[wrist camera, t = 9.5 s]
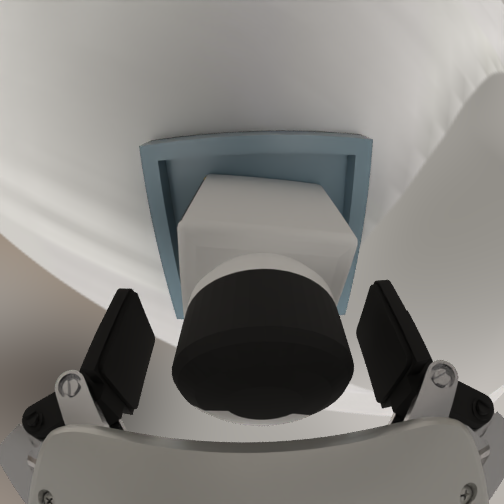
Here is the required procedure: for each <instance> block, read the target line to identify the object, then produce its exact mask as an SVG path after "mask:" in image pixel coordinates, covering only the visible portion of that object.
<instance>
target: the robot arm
mask: <svg viewBox="0 0 504 504" xmlns="http://www.w3.org/2000/svg"><path fill="white" fill-rule="evenodd" d="M356 334H357V339H358V342H359V344H360V348H361V351H362V354H363V357H364V360H365V364H366V367H367V370H368V373H369V377H370V380H371V383H372V387H373V390H374V394H375V397H376V401H377V402H378V403H381V407H382V408H386V407H391V406H392V409H393V412H394V413H393V415H392V417H391V420H390V421H389V423H388V425H386V426H382V427H377V428H373V429H368V430H362V431H357V432H352V433H347V434H341V435H335V436H328V437H321V438H313V439H304V440H292V441H278V442H252V443H251V442H250V443H237V442H209V441H195V440H184V439H175V438H174V439H173V438H166V437H159V436H153V435H146V434H140V433H134V432H129V431H127V430H126V428H125V426H124V424H123V422H122V420H121V417H122V413H125V414H130V415H133V411H134V409H137V407H138V404H139V399H140V396H141V392H142V388H143V383H144V379H145V376H146V372H147V368H148V365H149V361H150V357H151V353H152V350H153V346H154V343H155V336H154V333H153V331H152V329H151V326H150V324H149V321H148V319H147V317H146V314H145V312H144V309H143V307H142V304H141V302H140V299H139V296H138V294H137V293H136V292H134V291H133V290H132V289H118V290H117V292H116V294H115V296H114V298H113V300H112V302H111V304H110V306H109V308H108V310H107V312H106V314H105V316H104V318H103V320H102V322H101V323H100V326H99V328H98V330H97V332H96V334H95V336H94V339H93V341H92V343H91V345H90V347H89V350H88V352H87V354H86V357H85V359H84V361H83V364H82V366H81V369H80V371H75V370H70V371H66V372H64V373H63V374H61V376H60V377H59V378H58V379H57V381H56V384H55V392H54V393H52V394H51V395H49V396H47V397H45V398H43V399H42V400H40V401H38V402H36V403H35V404H33V405H32V406H30V407H28V408H27V409H26V410H25V412H24V414H23V418H22V423H23V424H22V425H20V424H18V426H16V428H15V429H14V430H13V431H12V432H11V433H10V434H9V435H8V437H7V438H6V439H5V440H4V441H3V442H2V444H0V464H1V466H2V468H3V470H4V471H5V473H6V475H7V476H8V478H9V479H10V481H11V483H12V484H13V486H14V488H15V489H16V491H17V492H18V493H19V495H20V496H21V498H22V499H23V501H24V502H25V503H26V504H489V499H490V498H491V497H492V495H493V494H494V492H495V491H496V489H497V488H498V486H499V485H500V483H501V482H502V480H503V478H504V418H503V417H502V416H501V415H500V414H499V413H498V412H496V413H494V407H493V403H492V400H491V399H490V398H489V397H488V396H487V395H485V394H483V393H481V392H479V391H477V390H475V389H473V388H471V387H470V386H468V385H466V384H464V383H462V382H460V381H458V374H457V371H456V369H455V367H454V366H453V365H452V364H450V363H449V362H447V361H444V360H437V361H434V362H433V361H432V359H431V356H430V354H429V352H428V350H427V348H426V346H425V344H424V341H423V339H422V338H421V335H420V333H419V332H418V330H417V327H416V325H415V323H414V322H413V320H412V318H411V316H410V314H409V312H408V311H407V310H406V309H405V307H404V305H403V303H402V301H401V300H400V298H399V296H398V295H397V292H396V291H395V289H394V287H393V285H392V284H391V282H390V281H389V280H380V281H375V282H374V284H373V285H371V286H370V289H369V292H368V295H367V299H366V302H365V305H364V308H363V311H362V314H361V318H360V321H359V324H358V327H357V331H356Z"/></svg>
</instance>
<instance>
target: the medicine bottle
mask: <svg viewBox="0 0 504 504" xmlns="http://www.w3.org/2000/svg"><path fill="white" fill-rule="evenodd" d="M177 231H178V251H179V267H180V280H181V292H182V303H183V313H184V322H183V326H182V330H181V334H180V338H179V342H178V346H177V350H176V354H175V358H174V362H173V366H172V376H173V380H174V383H175V384H176V386H177V388H178V390H179V391H180V393H181V394H182V395H183V397H184V398H185V399H186V400H187V401H188V402H189V403H190V404H191V405H193V406H194V407H196V408H197V409H199V410H201V411H202V412H204V413H206V414H209V415H211V416H214V417H216V418H219V419H222V420H225V421H228V422H232V423H237V424H243V425H252V426H269V425H279V424H285V423H290V422H293V421H297V420H300V419H303V418H306V417H308V416H310V415H312V414H315V413H317V412H319V411H321V410H323V409H325V408H326V407H328V406H329V405H331V404H332V403H334V402H335V401H336V400H337V399H338V398H339V397H340V396H341V395H342V394H343V392H344V391H345V389H346V387H347V386H348V384H349V382H350V380H351V378H352V375H353V372H354V363H353V359H352V355H351V352H350V348H349V345H348V342H347V339H346V335H345V332H344V329H343V326H342V322H341V319H340V316H339V313H338V310H337V304H338V302H339V299H340V296H341V293H342V291H343V288H344V285H345V282H346V279H347V276H348V273H349V270H350V267H351V264H352V261H353V258H354V255H355V252H356V248H357V245H358V241H357V238H356V236H355V234H354V233H353V231H352V230H351V228H350V227H349V225H348V224H347V222H346V221H345V219H344V218H343V216H342V215H341V213H340V212H339V210H338V209H337V207H336V206H335V205H334V203H333V202H332V200H331V199H330V197H329V196H328V195H327V193H326V192H325V190H324V189H323V188H322V186H321V185H319V184H313V183H305V182H297V181H288V180H279V179H269V178H259V177H248V176H235V175H220V174H208V175H207V176H206V177H205V178H204V180H203V181H202V183H201V185H200V186H199V188H198V190H197V191H196V193H195V195H194V197H193V198H192V200H191V202H190V204H189V205H188V207H187V209H186V211H185V212H184V214H183V216H182V218H181V220H180V221H179V223H178V227H177Z"/></svg>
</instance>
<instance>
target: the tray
mask: <svg viewBox="0 0 504 504" xmlns="http://www.w3.org/2000/svg"><path fill="white" fill-rule="evenodd" d="M372 144H373V139H370V138H368V137H365V136H363V135H360V134H349V133H335V132H315V131H248V132H228V133H214V134H202V135H192V136H183V137H175V138H167V139H160V140H153V141H150V142H148V143H145V144H143V145H141V146H139V148H140V155H141V162H142V168H143V174H144V180H145V186H146V192H147V197H148V203H149V208H150V213H151V218H152V223H153V227H154V232H155V236H156V241H157V245H158V250H159V254H160V258H161V262H162V266H163V270H164V274H165V278H166V282H167V285H168V289H169V293H170V296H171V300H172V303H173V307H174V310H175V314H176V317H177V319H184V313H183V303H182V292H181V280H180V267H179V251H178V231H177V227H178V223H179V221H180V220H181V218H182V216H183V214H184V212H185V211H186V209H187V207H188V205H189V204H190V202H191V200H192V198H193V197H194V195H195V193H196V191H197V190H198V188H199V186H200V185H201V183H202V181H203V180H204V178H205V177H206V176H207V175H208V174H220V175H235V176H248V177H259V178H269V179H279V180H288V181H297V182H305V183H313V184H319V185H321V186H322V188H323V189H324V190H325V192H326V193H327V195H328V196H329V197H330V199H331V200H332V202H333V203H334V205H335V206H336V207H337V209H338V210H339V212H340V213H341V215H342V216H343V218H344V219H345V221H346V222H347V224H348V225H349V227H350V228H351V230H352V231H353V233H354V234H355V236H356V238H357V241H358V245H357V248H356V252H355V255H354V258H353V261H352V264H351V267H350V270H349V273H348V276H347V279H346V282H345V285H344V288H343V291H342V293H341V296H340V299H339V302H338V304H337V310H338V313H339V315H344V314H345V313H346V308H347V304H348V301H349V296H350V292H351V288H352V283H353V278H354V273H355V269H356V264H357V258H358V253H359V248H360V242H361V236H362V230H363V224H364V218H365V211H366V203H367V196H368V187H369V178H370V168H371V157H372Z"/></svg>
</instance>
